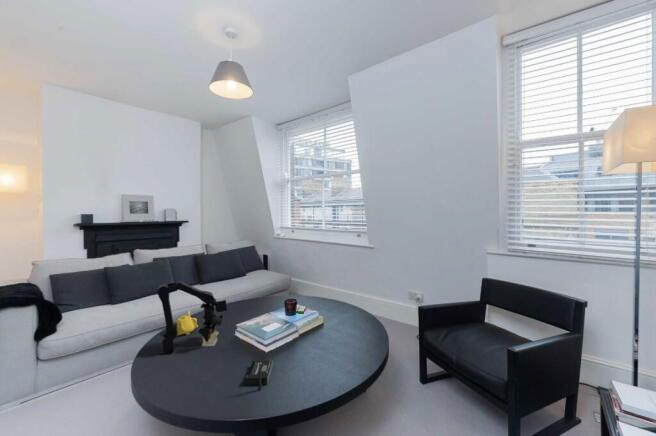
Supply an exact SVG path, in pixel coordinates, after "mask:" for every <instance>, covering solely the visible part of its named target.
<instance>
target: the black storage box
mask: <svg viewBox="0 0 656 436" xmlns="http://www.w3.org/2000/svg"><path fill="white" fill-rule="evenodd" d="M251 362H252V363H251V364H250V367H249V369H248V372H247V374H246V375H245V378H244V382H245V383H244V386H258V389H259V391H262V389H263V386H265V385H266V386H268V384H269V380H270V377H271V373H272V370H273V365H274V359H261V354H258V359H252V361H251Z"/></svg>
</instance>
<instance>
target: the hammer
mask: <svg viewBox="0 0 656 436" xmlns="http://www.w3.org/2000/svg"><path fill="white" fill-rule="evenodd" d="M218 335H219V331H216V340H215V341H214V343H208V344H203V342H202V344H201V347H214V346H216V344H217V343H218Z"/></svg>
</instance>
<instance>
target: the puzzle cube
mask: <svg viewBox="0 0 656 436" xmlns="http://www.w3.org/2000/svg"><path fill="white" fill-rule="evenodd" d="M296 306H297V310H296V313H298V314H304V312H305V311H306V312H307V306H306V305H305V306H304V305H303V306H298V305H296Z"/></svg>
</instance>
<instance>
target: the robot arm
mask: <svg viewBox="0 0 656 436" xmlns="http://www.w3.org/2000/svg"><path fill="white" fill-rule="evenodd" d="M158 286H159V287H158V289H157V291H156V292H157V293H156V294H157V295H158V298H159V300H160V301H161V306H162V310H163V314H164V315H163V316H164V320H165V333H164V334H163V335H162V338H161V345H162V351H161V352H160V354H159V355H171V354H173V353H174V352H175V350H177V347H175V341H174V340H175V339H176V338H177V333H178V330H179V328H178V326H177V323H176V322H175V321H174V316H173V312H172V311H173V310H172V307H171V306H172V305H171V301H170V294H171V293H174V292H177V291H179V290H180V291H182V292H184V293H187V294H188V295H191V296H194V297H196V298H197V299H199V300H200V301H201V302H202V304H201V305H200V308H201V309H203V316H202V319H203V323H202V325H203V326H201V327H200V328H199V329H198V334H200V335H201V336H202V339H203V338H204V339H205V341H206V342H208V340H209V334H210V332H211V329H216V326H218V327H221V326H223V323H224V321H225V317H224V315H223V314H220V315H217V314H216V313H222V312H227V311H228V306H227V300H226V299H223V300H217V299H216V298H215V296H214V294H213V293H212V292H211V291H206V290H201V289H199V288H197V287H194V286H192V285H190V284H188V283H185V282H183V281H182V280H181V281H180V280H178V281H176V282H170V283H163V284H160V285H158ZM215 312H216V313H215Z"/></svg>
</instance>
